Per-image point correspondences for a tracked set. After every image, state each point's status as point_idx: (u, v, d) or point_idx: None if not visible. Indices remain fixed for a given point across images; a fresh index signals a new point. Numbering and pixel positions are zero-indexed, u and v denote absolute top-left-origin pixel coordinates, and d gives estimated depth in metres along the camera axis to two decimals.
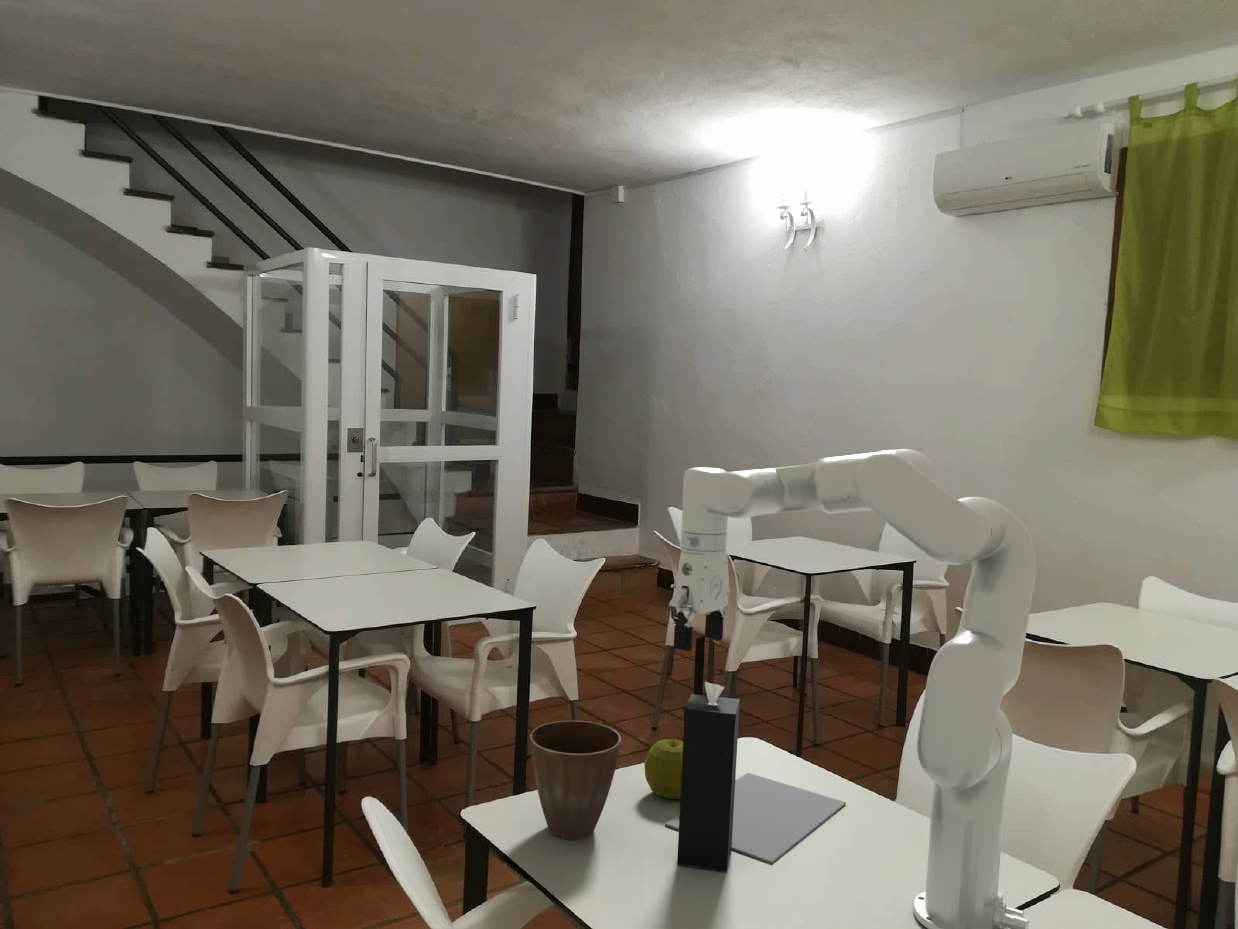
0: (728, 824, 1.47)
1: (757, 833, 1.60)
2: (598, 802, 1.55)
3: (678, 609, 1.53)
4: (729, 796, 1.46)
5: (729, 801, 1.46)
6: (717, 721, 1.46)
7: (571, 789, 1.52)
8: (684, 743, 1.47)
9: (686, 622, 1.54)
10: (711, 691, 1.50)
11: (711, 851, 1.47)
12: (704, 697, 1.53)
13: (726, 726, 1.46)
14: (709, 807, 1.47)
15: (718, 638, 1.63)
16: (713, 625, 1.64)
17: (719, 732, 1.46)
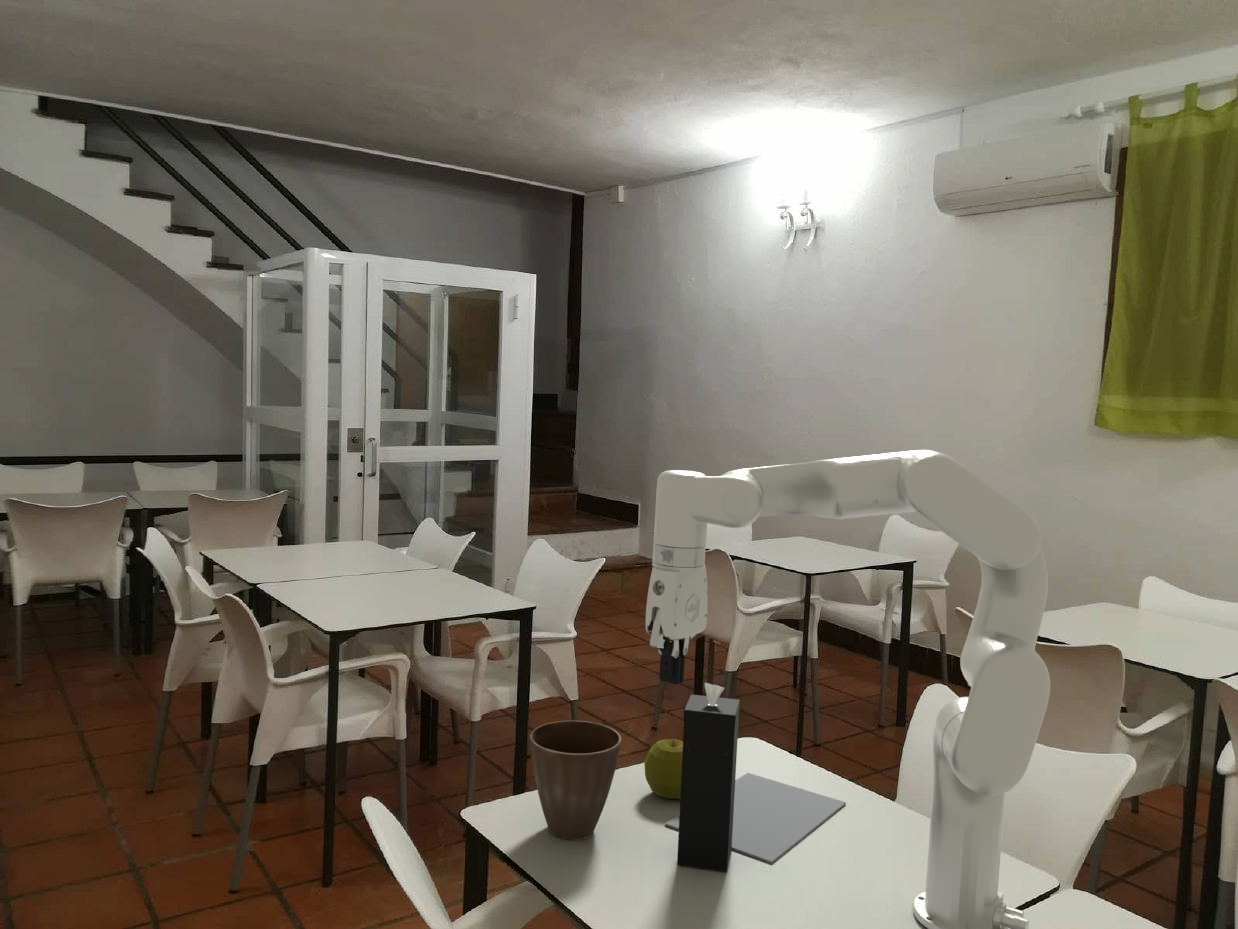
0: (728, 825, 1.46)
1: (757, 833, 1.60)
2: (598, 802, 1.55)
3: (662, 643, 1.36)
4: (729, 797, 1.46)
5: (729, 802, 1.46)
6: (717, 722, 1.46)
7: (571, 789, 1.52)
8: (684, 744, 1.47)
9: (673, 655, 1.37)
10: (711, 691, 1.49)
11: (711, 852, 1.47)
12: (704, 698, 1.53)
13: (726, 727, 1.46)
14: (709, 808, 1.47)
15: None
16: None
17: (719, 733, 1.46)
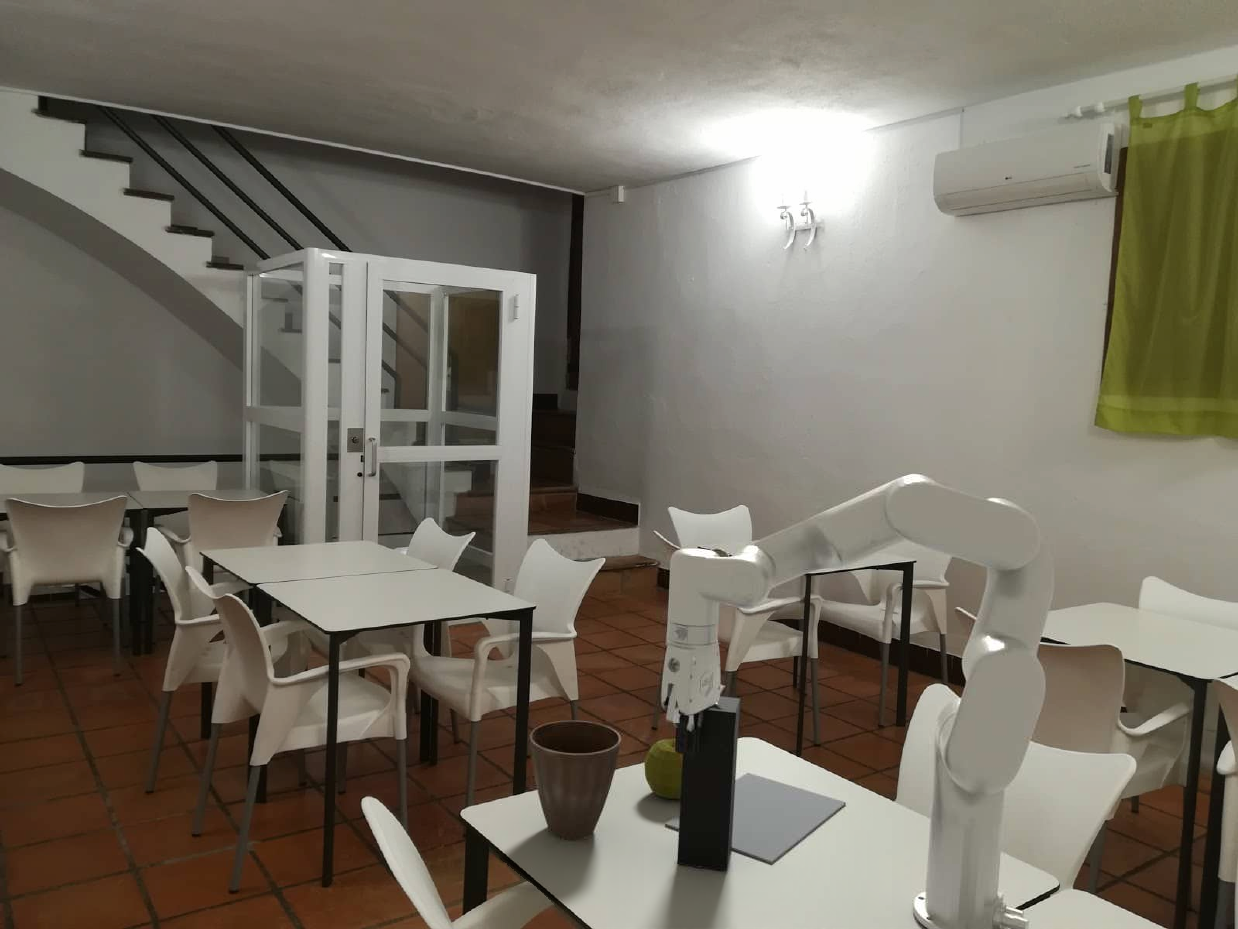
0: (728, 823, 1.47)
1: (757, 833, 1.60)
2: (598, 802, 1.55)
3: (678, 718, 1.40)
4: (729, 795, 1.46)
5: (729, 800, 1.46)
6: (717, 719, 1.46)
7: (571, 789, 1.52)
8: None
9: (688, 729, 1.42)
10: None
11: (711, 850, 1.47)
12: None
13: (726, 724, 1.46)
14: (709, 806, 1.47)
15: None
16: None
17: (719, 730, 1.46)
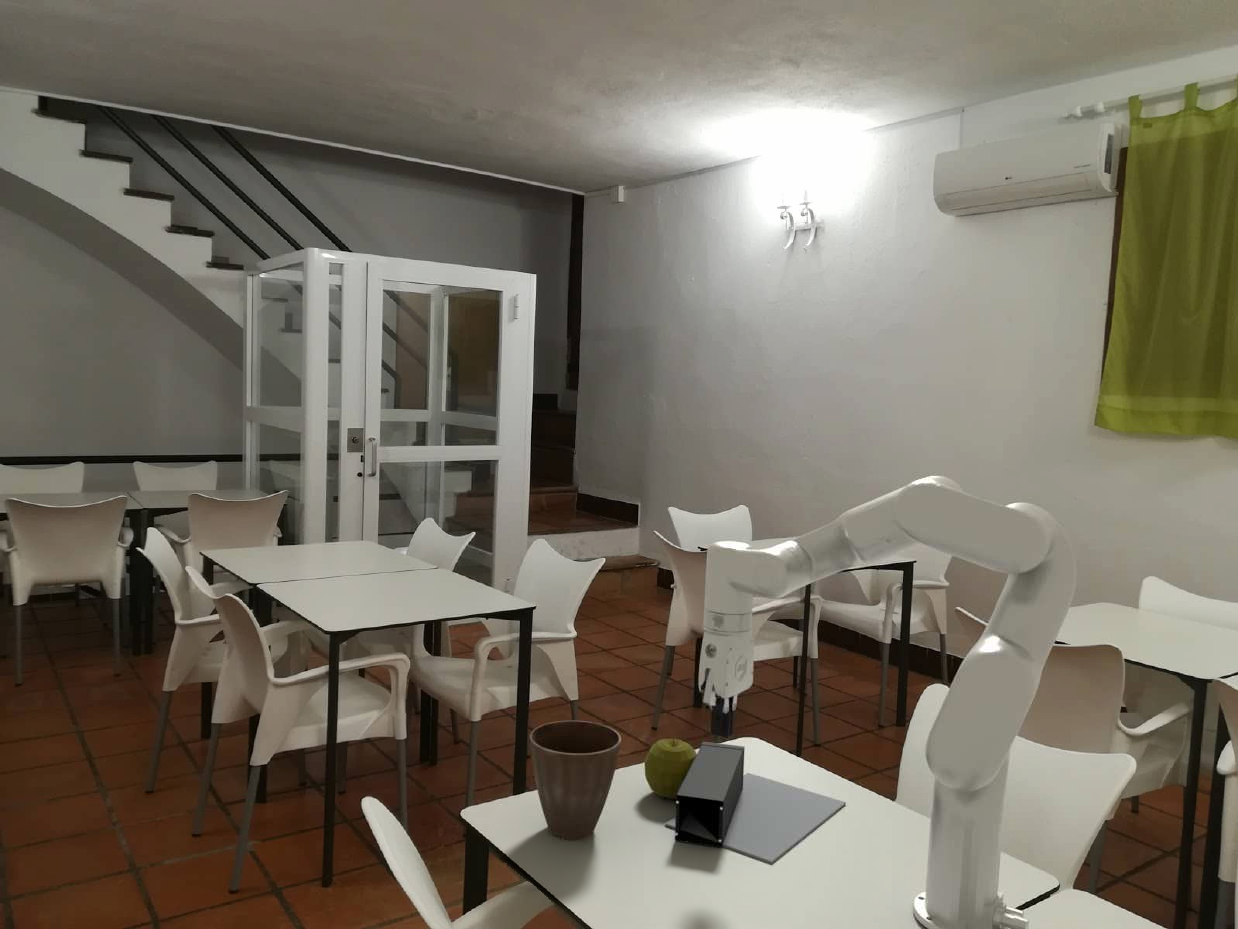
0: (729, 783, 1.61)
1: (757, 833, 1.60)
2: (598, 802, 1.55)
3: (714, 701, 1.49)
4: (732, 773, 1.65)
5: (732, 775, 1.65)
6: (728, 747, 1.77)
7: (571, 789, 1.52)
8: (698, 752, 1.74)
9: (724, 711, 1.50)
10: None
11: (710, 792, 1.57)
12: None
13: (735, 750, 1.76)
14: (713, 776, 1.64)
15: None
16: None
17: (729, 751, 1.75)
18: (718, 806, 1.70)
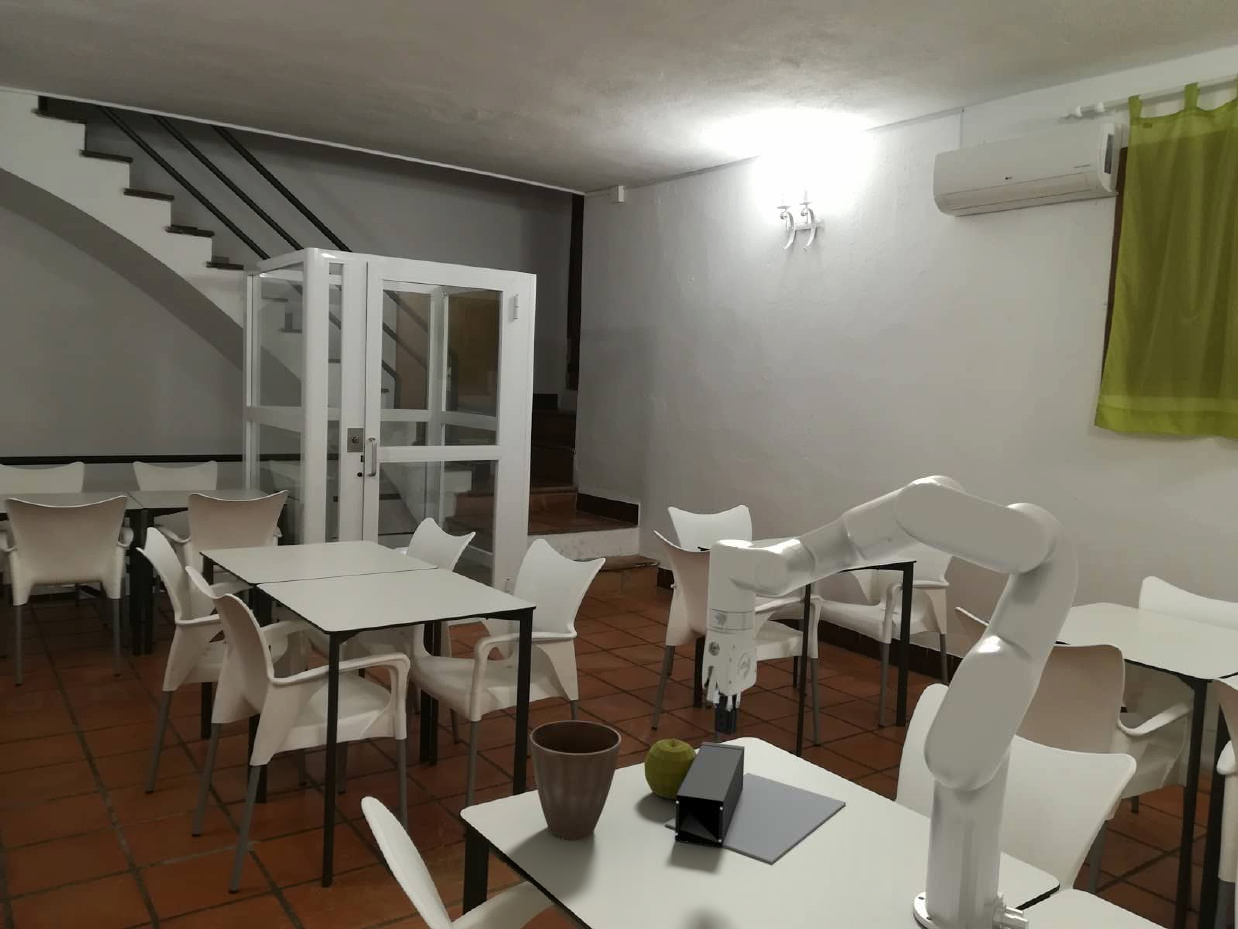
0: (729, 783, 1.61)
1: (757, 833, 1.60)
2: (598, 802, 1.55)
3: (718, 698, 1.50)
4: (732, 773, 1.65)
5: (732, 775, 1.65)
6: (728, 747, 1.77)
7: (571, 789, 1.52)
8: (698, 752, 1.74)
9: (727, 709, 1.51)
10: None
11: (710, 792, 1.57)
12: None
13: (735, 750, 1.76)
14: (713, 776, 1.64)
15: None
16: None
17: (729, 751, 1.75)
18: (718, 806, 1.70)
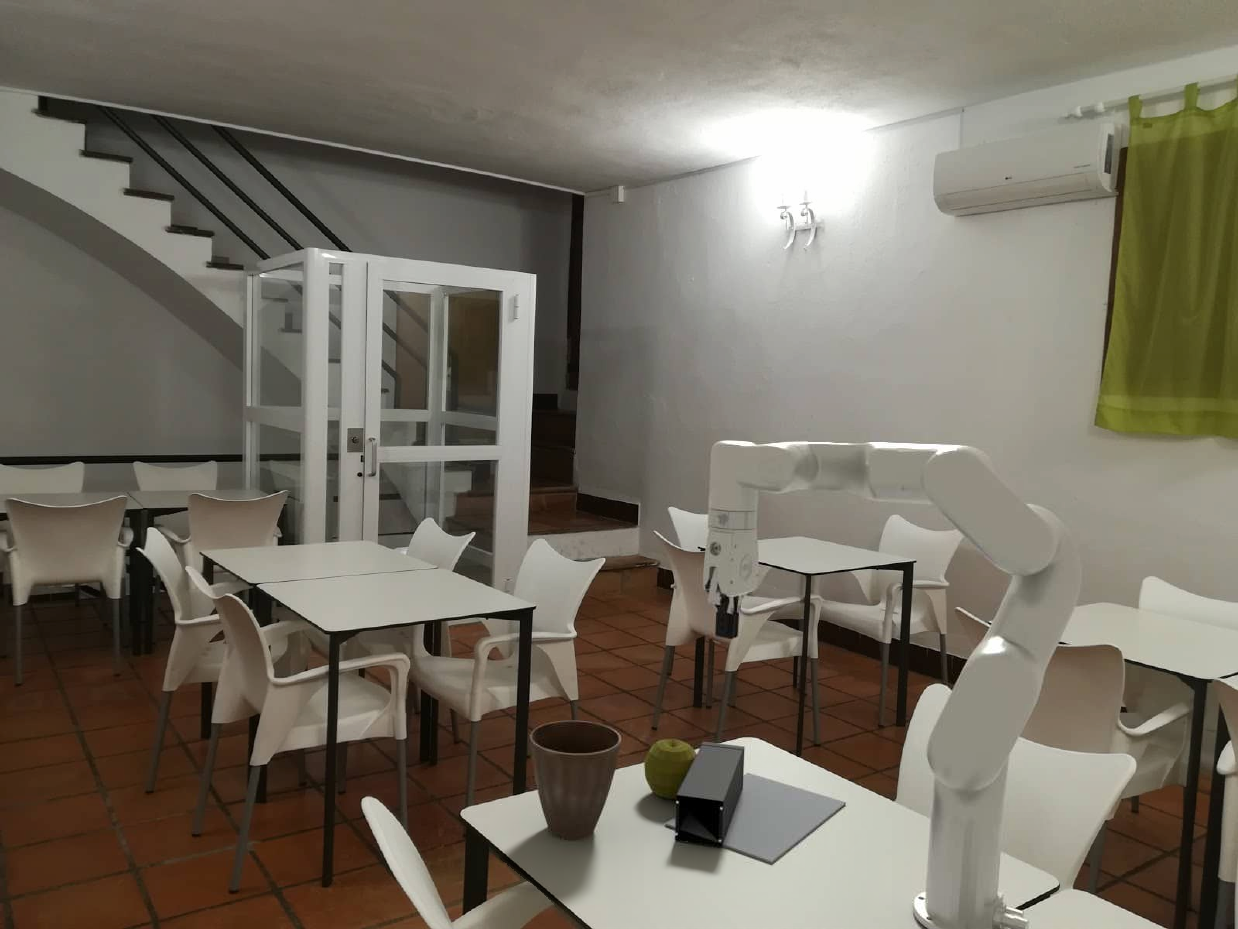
0: (729, 783, 1.61)
1: (757, 833, 1.60)
2: (598, 802, 1.55)
3: (719, 600, 1.47)
4: (732, 773, 1.65)
5: (732, 775, 1.65)
6: (728, 747, 1.77)
7: (571, 789, 1.52)
8: (698, 752, 1.74)
9: (728, 612, 1.48)
10: None
11: (710, 792, 1.57)
12: None
13: (735, 750, 1.76)
14: (713, 776, 1.64)
15: None
16: None
17: (729, 751, 1.75)
18: (718, 806, 1.70)
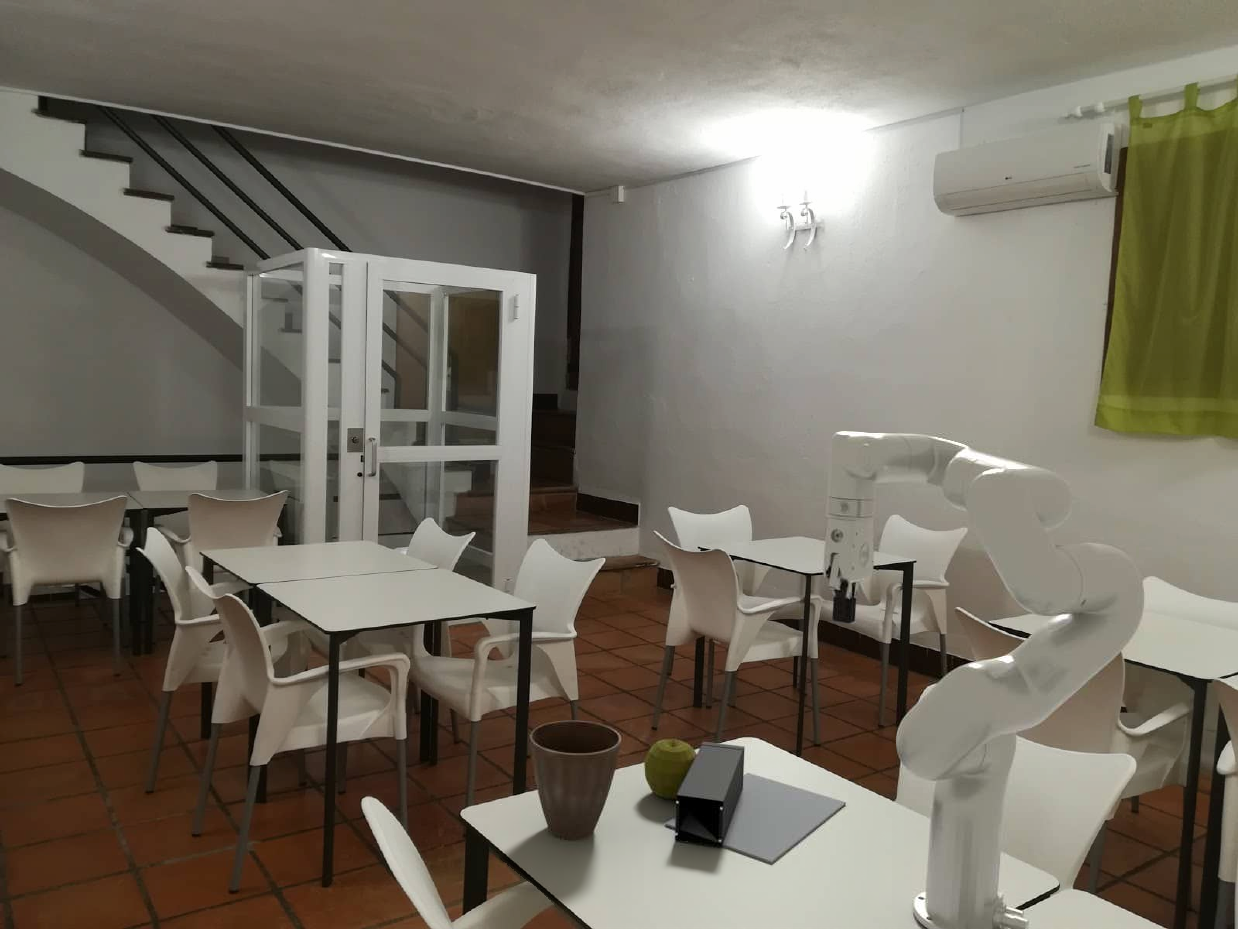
0: (729, 783, 1.61)
1: (757, 833, 1.60)
2: (598, 802, 1.55)
3: (839, 585, 1.52)
4: (732, 773, 1.65)
5: (732, 775, 1.65)
6: (728, 747, 1.77)
7: (571, 789, 1.52)
8: (698, 752, 1.74)
9: (847, 597, 1.53)
10: None
11: (710, 792, 1.57)
12: None
13: (735, 750, 1.76)
14: (713, 776, 1.64)
15: None
16: None
17: (729, 751, 1.75)
18: (718, 806, 1.70)
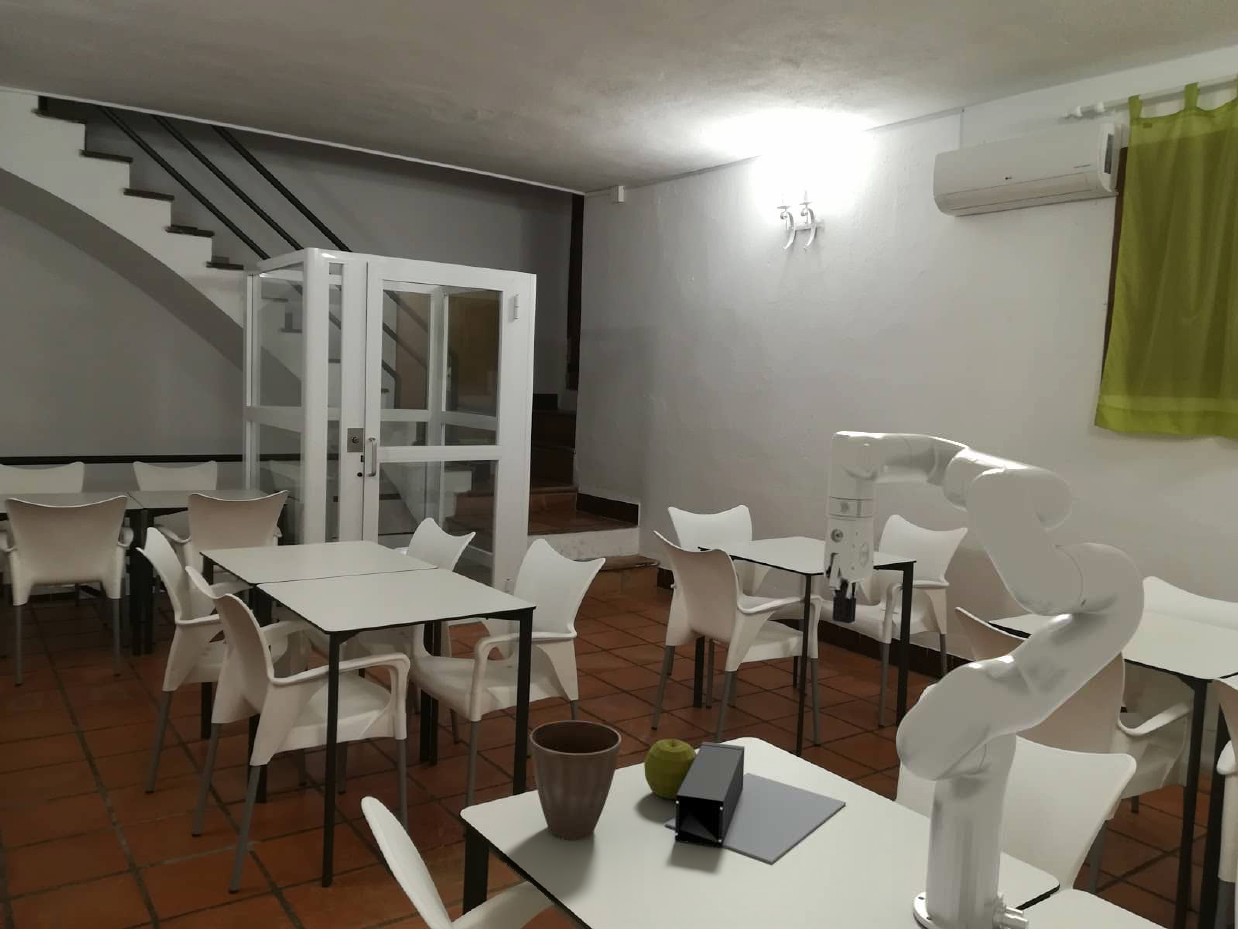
0: (729, 783, 1.61)
1: (757, 833, 1.60)
2: (598, 802, 1.55)
3: (839, 585, 1.52)
4: (732, 773, 1.65)
5: (732, 775, 1.65)
6: (728, 747, 1.77)
7: (571, 789, 1.52)
8: (698, 752, 1.74)
9: (847, 597, 1.53)
10: None
11: (710, 792, 1.57)
12: None
13: (735, 750, 1.76)
14: (713, 776, 1.64)
15: None
16: None
17: (729, 751, 1.75)
18: (718, 806, 1.70)
